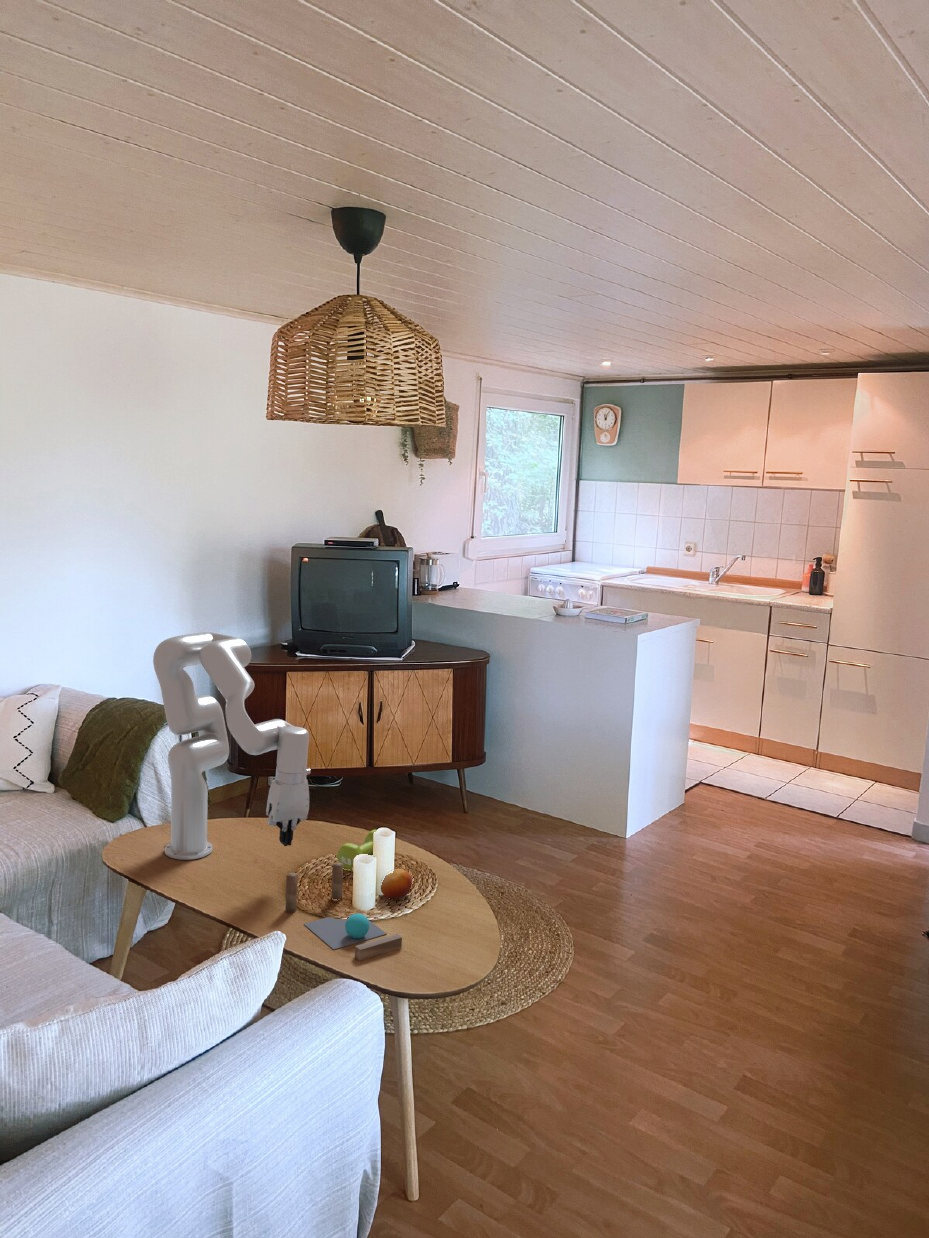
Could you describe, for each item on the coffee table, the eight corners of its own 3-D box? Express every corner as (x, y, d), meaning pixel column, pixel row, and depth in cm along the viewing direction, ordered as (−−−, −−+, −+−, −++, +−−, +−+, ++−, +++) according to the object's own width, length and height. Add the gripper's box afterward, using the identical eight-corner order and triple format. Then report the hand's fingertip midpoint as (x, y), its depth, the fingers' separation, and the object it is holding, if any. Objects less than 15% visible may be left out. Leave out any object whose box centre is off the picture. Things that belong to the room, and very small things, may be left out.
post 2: (329, 897, 231) (330, 863, 230) (338, 895, 233) (339, 861, 232) (334, 901, 229) (336, 867, 228) (343, 899, 231) (345, 865, 230)
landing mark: (303, 924, 217) (303, 923, 217) (355, 910, 225) (355, 909, 225) (333, 949, 206) (333, 948, 206) (386, 934, 214) (386, 933, 214)
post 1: (283, 909, 224) (284, 874, 222) (293, 907, 225) (294, 871, 224) (288, 913, 222) (289, 878, 220) (298, 911, 223) (299, 875, 222)
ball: (338, 926, 213) (345, 911, 210) (358, 921, 217) (365, 905, 214) (348, 946, 210) (355, 930, 207) (369, 940, 213) (376, 924, 210)
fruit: (414, 900, 230) (399, 871, 229) (387, 912, 231) (372, 883, 231) (422, 887, 237) (408, 859, 237) (396, 898, 239) (382, 871, 239)
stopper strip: (354, 956, 203) (355, 945, 203) (396, 943, 210) (397, 933, 210) (359, 960, 202) (359, 949, 202) (401, 947, 209) (402, 937, 208)
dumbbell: (357, 876, 245) (358, 850, 244) (333, 868, 249) (334, 843, 248) (392, 856, 260) (393, 832, 259) (369, 850, 264) (370, 825, 262)
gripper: (310, 767, 242) (304, 833, 245) (257, 774, 233) (252, 843, 236) (324, 776, 236) (318, 844, 239) (270, 784, 227) (265, 854, 230)
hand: (285, 843), depth 237 cm, fingers closed
